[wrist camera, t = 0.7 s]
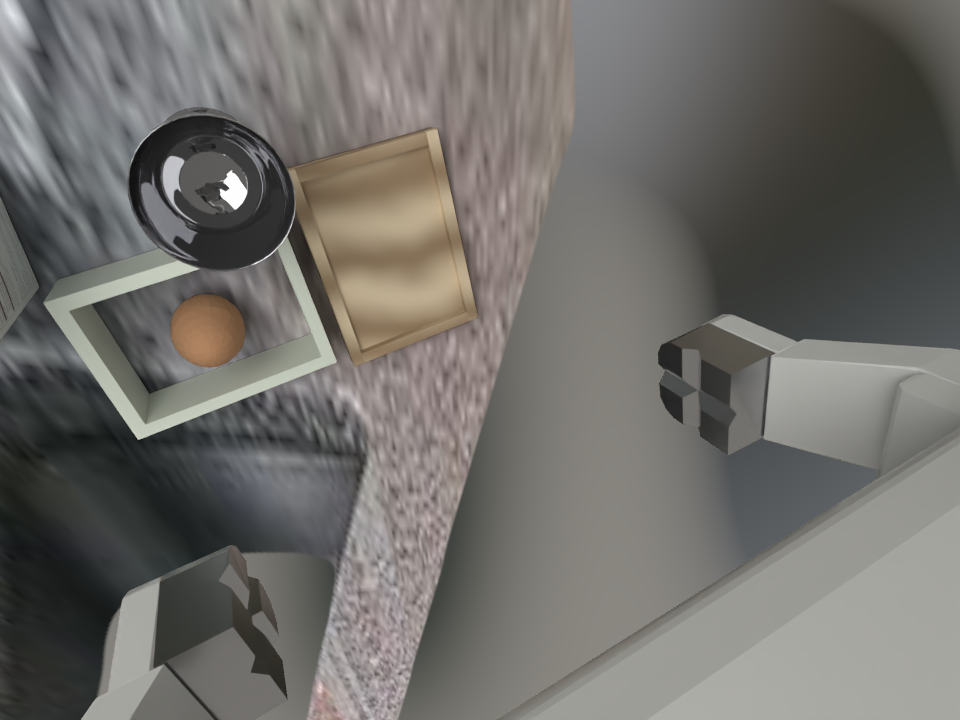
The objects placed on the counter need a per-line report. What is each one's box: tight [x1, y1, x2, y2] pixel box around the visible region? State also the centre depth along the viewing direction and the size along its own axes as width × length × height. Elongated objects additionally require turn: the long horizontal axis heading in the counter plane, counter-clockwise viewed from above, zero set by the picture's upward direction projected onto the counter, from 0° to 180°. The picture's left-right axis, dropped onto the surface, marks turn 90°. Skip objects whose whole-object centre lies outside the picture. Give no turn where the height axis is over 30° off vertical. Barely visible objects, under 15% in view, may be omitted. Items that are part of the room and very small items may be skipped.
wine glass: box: [127, 108, 296, 271], centre depth 35 cm, size 8×8×15 cm
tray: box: [287, 128, 478, 366], centre depth 49 cm, size 18×13×2 cm
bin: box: [43, 237, 337, 440], centre depth 43 cm, size 12×16×5 cm
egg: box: [171, 294, 245, 367], centre depth 42 cm, size 5×5×8 cm
